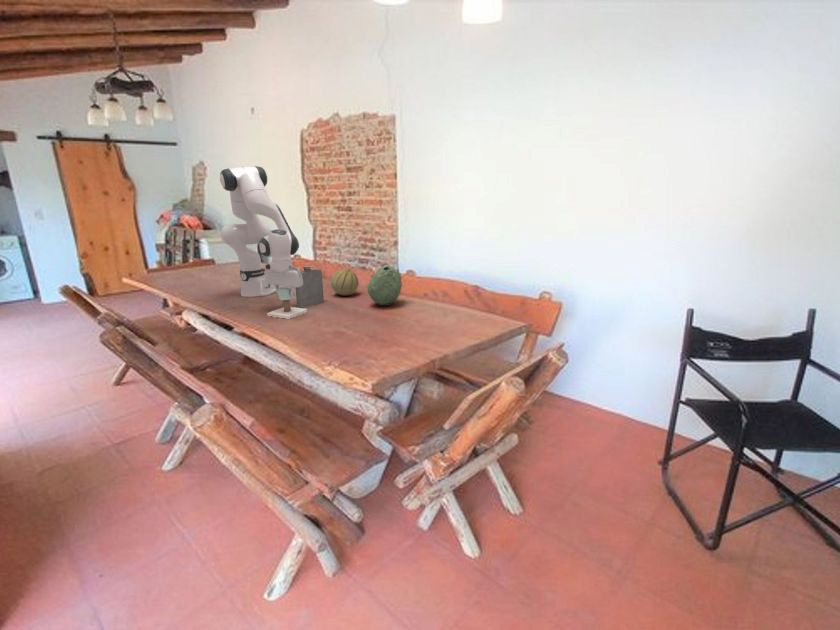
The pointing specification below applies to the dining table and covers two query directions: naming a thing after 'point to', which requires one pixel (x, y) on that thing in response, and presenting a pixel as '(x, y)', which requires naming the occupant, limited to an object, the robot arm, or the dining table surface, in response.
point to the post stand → (287, 311)
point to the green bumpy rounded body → (385, 285)
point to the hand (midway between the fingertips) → (285, 294)
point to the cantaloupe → (344, 282)
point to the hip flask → (310, 288)
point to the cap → (284, 293)
